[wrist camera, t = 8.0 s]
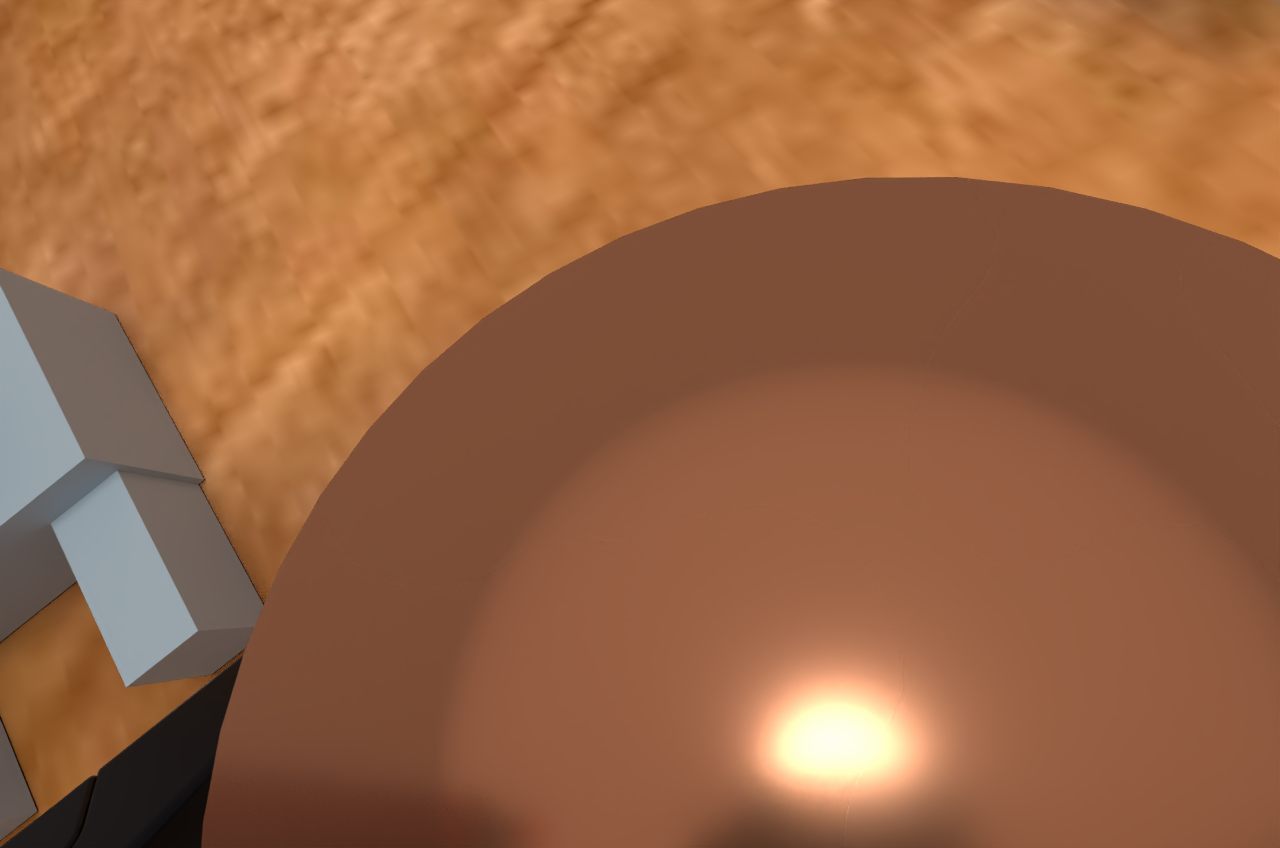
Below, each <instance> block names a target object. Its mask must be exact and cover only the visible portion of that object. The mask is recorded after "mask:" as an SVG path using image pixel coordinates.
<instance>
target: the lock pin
mask: <svg viewBox="0 0 1280 848" xmlns="http://www.w3.org/2000/svg"><path fill="white" fill-rule="evenodd" d="M201 848H1280V259H1278V258H1276V257H1274V256H1272V255H1270V254H1268V253H1265V252H1263V251H1261V250H1259V249H1257V248H1255V247H1253V246H1251V245H1248V244H1246V243H1244V242H1241V241H1238V240H1235V239H1233V238H1230V237H1227V236H1224V235H1221V234H1218V233H1215V232H1212V231H1209V230H1206V229H1203V228H1200V227H1198V226H1195V225H1192V224H1189V223H1186V222H1183V221H1180V220H1177V219H1174V218H1171V217H1168V216H1166V215H1163V214H1160V213H1157V212H1154V211H1151V210H1148V209H1145V208H1140V207H1136V206H1131V205H1127V204H1122V203H1118V202H1113V201H1109V200H1104V199H1100V198H1095V197H1091V196H1086V195H1082V194H1077V193H1073V192H1068V191H1064V190H1059V189H1055V188H1050V187H1042V186H1033V185H1023V184H1014V183H1005V182H995V181H986V180H977V179H968V178H958V177H924V178H861V179H853V180H845V181H837V182H828V183H820V184H812V185H804V186H796V187H788V188H780V189H776V190H771V191H767V192H763V193H759V194H755V195H751V196H747V197H743V198H739V199H734V200H730V201H726V202H722V203H718V204H714V205H710V206H706V207H702V208H698V209H695V210H692V211H690V212H687V213H684V214H682V215H679V216H676V217H674V218H671V219H668V220H665V221H663V222H660V223H657V224H655V225H652V226H649V227H647V228H644V229H641V230H639V231H636V232H633V233H630V234H628V235H625V236H622V237H620V238H618V239H616V240H614V241H612V242H610V243H608V244H607V245H605V246H603V247H601V248H599V249H597V250H595V251H593V252H591V253H589V254H587V255H585V256H583V257H581V258H579V259H577V260H575V261H573V262H571V263H570V264H568V265H566V266H564V267H562V268H560V269H558V270H556V271H554V272H552V273H550V274H548V275H547V276H545V277H544V278H543V279H541V280H540V281H538V282H537V283H535V284H534V285H532V286H531V287H529V288H528V289H526V290H525V291H523V292H522V293H520V294H519V295H517V296H516V297H514V298H513V299H511V300H510V301H508V302H507V303H505V304H504V305H502V306H501V307H499V308H498V309H496V310H495V311H494V312H492V313H491V314H489V315H488V316H486V317H485V318H483V319H482V320H481V321H480V322H478V323H477V324H476V325H475V326H474V327H473V328H472V329H470V330H469V331H468V332H467V333H466V334H465V335H463V336H462V337H461V338H460V339H459V340H458V341H456V342H455V343H454V344H453V345H452V346H451V347H449V348H448V349H447V350H446V351H445V352H444V353H442V354H441V355H440V356H439V357H438V358H437V359H436V360H434V361H433V362H432V363H431V364H430V365H429V366H427V367H426V368H425V369H424V370H423V371H422V372H421V373H420V374H419V375H418V376H417V377H416V378H415V379H414V381H413V382H412V383H411V384H410V385H409V386H408V387H407V388H406V389H405V390H404V391H403V392H402V394H401V395H400V396H399V397H398V398H397V399H396V400H395V401H394V402H393V403H392V404H391V406H390V407H389V408H388V409H387V410H386V411H385V412H384V413H383V414H382V415H381V416H380V418H379V419H378V420H377V421H376V422H375V423H374V424H373V425H372V426H371V427H370V428H369V429H368V431H367V432H366V434H365V435H364V436H363V438H362V439H361V440H360V442H359V443H358V445H357V446H356V447H355V449H354V450H353V451H352V453H351V454H350V456H349V457H348V458H347V460H346V461H345V462H344V464H343V465H342V467H341V468H340V469H339V471H338V472H337V474H336V475H335V476H334V478H333V479H332V480H331V482H330V483H329V485H328V486H327V487H326V489H325V490H324V491H323V493H322V494H321V496H320V497H319V499H318V501H317V503H316V504H315V506H314V508H313V510H312V511H311V513H310V515H309V517H308V519H307V520H306V522H305V524H304V526H303V527H302V529H301V531H300V533H299V534H298V536H297V538H296V540H295V542H294V543H293V545H292V547H291V549H290V550H289V552H288V554H287V556H286V557H285V559H284V561H283V563H282V565H281V566H280V568H279V570H278V573H277V575H276V577H275V580H274V582H273V584H272V587H271V589H270V591H269V594H268V596H267V598H266V601H265V603H264V606H263V608H262V610H261V613H260V615H259V617H258V620H257V622H256V624H255V627H254V629H253V631H252V634H251V636H250V638H249V641H248V643H247V645H246V648H245V651H244V655H243V658H242V661H241V665H240V668H239V671H238V675H237V678H236V681H235V684H234V688H233V691H232V694H231V698H230V701H229V704H228V708H227V711H226V714H225V718H224V721H223V724H222V727H221V731H220V736H219V741H218V746H217V751H216V757H215V762H214V767H213V773H212V778H211V783H210V789H209V794H208V799H207V804H206V810H205V815H204V820H203V831H202V843H201Z"/></svg>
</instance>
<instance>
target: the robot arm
mask: <svg viewBox="0 0 1280 848" xmlns="http://www.w3.org/2000/svg"><path fill="white" fill-rule="evenodd" d="M242 658H243V656H241V657H240V658H239V659H238V660H236V661H235V662H234V663H233V664H231V665H230V666H229V667H228V668H226V669H225V670H224V671H223V672H221V673H220V674H219V675H218V676H216V677H215V678H214V679H213V680H211V681H210V682H209V683H208V684H206V685H205V686H204V687H202V688H201V689H200V690H199V691H197V692H196V693H195V694H194V695H192V696H191V697H190V698H189V699H187V700H186V701H185V702H184V703H182V704H181V705H180V706H179V707H177V708H176V709H175V710H174V711H172V712H171V713H170V714H169V715H167V716H166V717H165V718H164V719H162V720H161V721H160V722H158V723H157V724H156V725H155V726H153V727H152V728H151V729H150V730H148V731H147V732H146V733H145V734H143V735H142V736H141V737H140V738H138V739H137V740H136V741H135V742H133V743H132V744H131V745H130V746H128V747H127V748H126V749H125V750H123V751H122V752H121V753H120V754H118V755H117V756H116V757H114V758H113V759H112V760H111V761H109V762H108V763H107V764H106V765H104V766H103V767H102V768H101V769H100V770H99V772H98V774H97V776H91V777H89V778H88V779H87V780H85V781H84V782H83V783H82V784H80V785H79V786H78V787H77V788H75V789H74V790H73V791H72V792H70V793H69V794H68V795H67V796H65V797H64V798H63V799H62V800H60V801H59V802H58V803H57V804H55V805H54V806H53V807H52V808H50V809H49V810H48V811H46V812H45V813H44V814H42V815H41V816H40V817H39V818H37V819H36V820H35V821H33V822H32V823H31V824H30V825H28V826H27V827H26V828H24V829H23V830H22V831H21V832H19V833H18V834H17V835H15V836H14V837H13V838H11V839H10V840H9V841H8V842H6V843H5V844H4V845H2V846H1V847H0V848H201V843H202V831H203V820H204V815H205V810H206V804H207V799H208V794H209V789H210V783H211V778H212V773H213V767H214V762H215V757H216V751H217V746H218V741H219V736H220V731H221V727H222V724H223V721H224V718H225V714H226V711H227V708H228V704H229V701H230V698H231V694H232V691H233V688H234V684H235V681H236V678H237V675H238V671H239V668H240V665H241V661H242Z"/></svg>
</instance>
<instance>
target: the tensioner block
mask: <svg viewBox="0 0 1280 848" xmlns="http://www.w3.org/2000/svg"><path fill="white" fill-rule="evenodd" d="M203 480H204V478H203V476H202V474H201V473H200V471H199V469H198V467H197V465H196V463H195V462H194V460H193V458H192V456H191V454H190V452H189V450H188V449H187V447H186V445H185V443H184V441H183V439H182V438H181V436H180V434H179V432H178V430H177V428H176V427H175V425H174V423H173V421H172V419H171V417H170V415H169V414H168V412H167V410H166V408H165V406H164V404H163V403H162V401H161V399H160V397H159V395H158V393H157V392H156V390H155V388H154V386H153V384H152V382H151V380H150V379H149V377H148V375H147V373H146V371H145V369H144V368H143V366H142V364H141V362H140V360H139V358H138V357H137V355H136V353H135V351H134V349H133V347H132V345H131V344H130V342H129V340H128V338H127V336H126V334H125V333H124V331H123V329H122V327H121V325H120V323H119V322H118V320H117V318H116V316H115V314H114V313H112V312H109V311H107V310H104V309H102V308H99V307H97V306H94V305H92V304H89V303H87V302H84V301H82V300H79V299H77V298H74V297H72V296H69V295H67V294H64V293H62V292H59V291H57V290H54V289H52V288H49V287H47V286H44V285H42V284H39V283H37V282H34V281H32V280H29V279H27V278H24V277H22V276H19V275H17V274H14V273H12V272H9V271H7V270H4V269H2V268H0V642H1V641H2V640H3V639H5V638H6V637H7V636H8V635H10V634H11V633H12V632H13V631H15V630H16V629H17V628H18V627H20V626H21V625H22V624H23V623H25V622H26V621H27V620H29V619H30V618H31V617H32V616H34V615H35V614H36V613H37V612H39V611H40V610H41V609H42V608H44V607H45V606H46V605H47V604H49V603H50V602H51V601H52V600H54V599H55V598H56V597H57V596H59V595H60V594H61V593H62V592H64V591H65V590H66V589H67V588H69V587H70V586H71V585H72V584H74V583H75V582H76V581H77V582H78V584H79V586H80V588H81V590H82V593H83V595H84V597H85V599H86V601H87V603H88V606H89V608H90V610H91V612H92V614H93V616H94V619H95V621H96V623H97V625H98V627H99V629H100V632H101V634H102V636H103V638H104V640H105V642H106V645H107V647H108V649H109V651H110V653H111V655H112V658H113V660H114V662H115V664H116V666H117V668H118V671H119V673H120V675H121V677H122V679H123V681H124V684H125V686H126V687H132V686H139V685H145V684H152V683H159V682H166V681H172V680H179V679H186V678H193V677H199V676H206V675H212V674H213V673H214V672H215V671H217V670H218V669H219V668H221V667H222V666H223V665H224V664H226V663H227V662H228V661H229V660H231V659H232V658H233V657H235V656H236V655H237V654H238V653H240V652H241V651H242V650H243V649H245V648H246V645H247V643H248V641H249V638H250V636H251V634H252V631H253V629H254V627H255V624H256V622H257V620H258V617H259V615H260V613H261V610H262V608H263V606H264V605H263V603H262V601H261V600H260V598H259V596H258V594H257V592H256V590H255V588H254V587H253V585H252V583H251V581H250V579H249V577H248V575H247V574H246V572H245V570H244V568H243V566H242V564H241V562H240V561H239V559H238V557H237V555H236V553H235V551H234V549H233V548H232V546H231V544H230V542H229V540H228V538H227V536H226V535H225V533H224V531H223V529H222V527H221V525H220V523H219V522H218V520H217V518H216V516H215V514H214V512H213V510H212V509H211V507H210V505H209V503H208V501H207V499H206V497H205V496H204V494H203V492H202V490H201V488H200V486H199V483H201V482H202V481H203ZM36 812H37V809H36V807H35V804H34V802H33V799H32V797H31V794H30V792H29V789H28V787H27V785H26V782H25V780H24V777H23V775H22V772H21V770H20V767H19V765H18V762H17V760H16V757H15V755H14V752H13V750H12V747H11V745H10V742H9V740H8V737H7V735H6V732H5V730H4V727H3V725H2V722H1V720H0V840H2V839H3V838H4V837H5V836H7V835H8V834H9V833H10V832H12V831H13V830H14V829H16V828H17V827H18V826H19V825H21V824H22V823H23V822H24V821H26V820H27V819H28V818H30V817H31V816H32V815H33V814H35V813H36Z"/></svg>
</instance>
